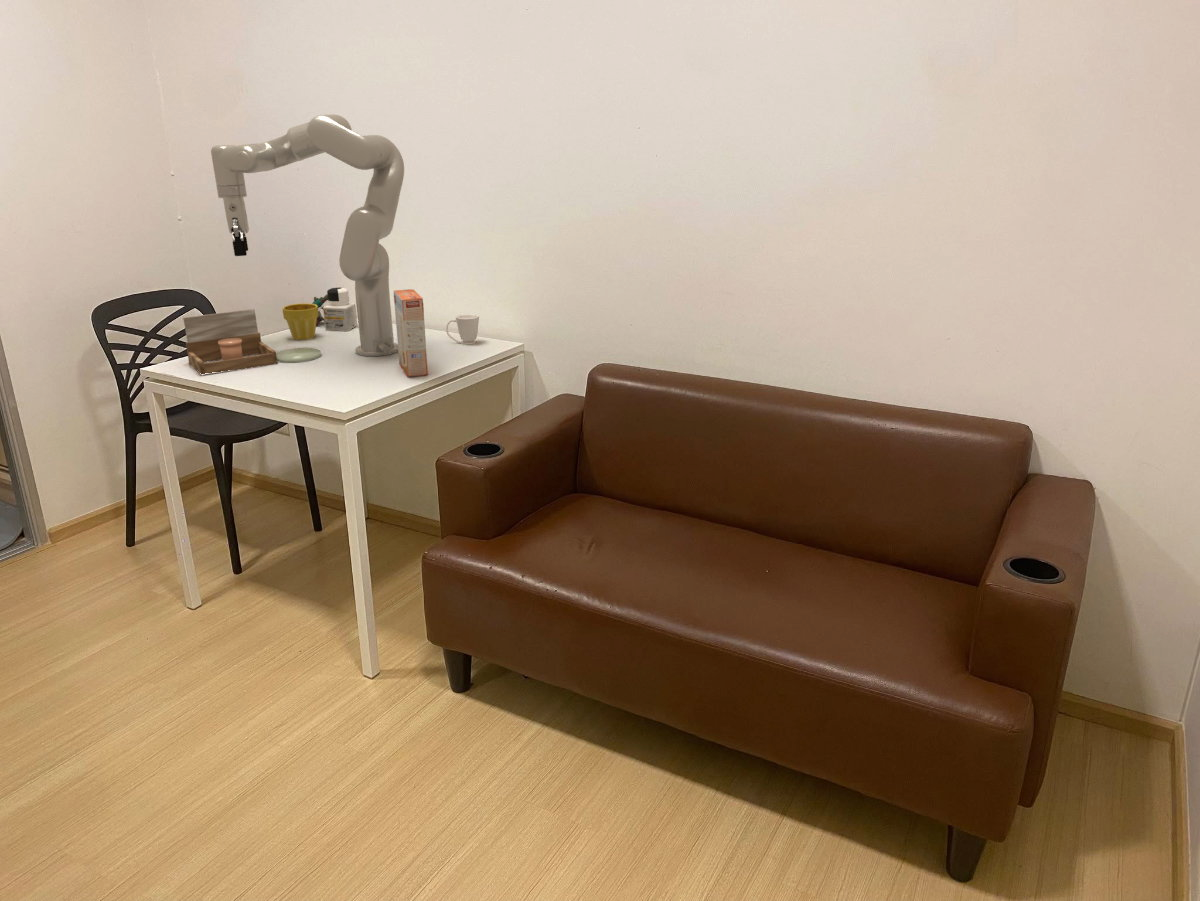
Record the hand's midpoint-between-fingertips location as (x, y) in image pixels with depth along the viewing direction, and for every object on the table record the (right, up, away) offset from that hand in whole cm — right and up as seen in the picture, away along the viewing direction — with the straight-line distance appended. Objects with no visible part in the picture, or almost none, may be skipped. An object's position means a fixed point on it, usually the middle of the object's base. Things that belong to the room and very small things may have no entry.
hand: (241, 253), depth 255 cm
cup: (+62, -24, +14) cm, 68 cm away
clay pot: (0, -32, -7) cm, 33 cm away
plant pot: (+11, -22, +21) cm, 32 cm away
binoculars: (+10, -15, +38) cm, 42 cm away
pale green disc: (+16, -30, 0) cm, 34 cm away
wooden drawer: (0, -32, -7) cm, 33 cm away
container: (+19, -17, +33) cm, 42 cm away
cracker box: (+52, -35, -14) cm, 65 cm away
